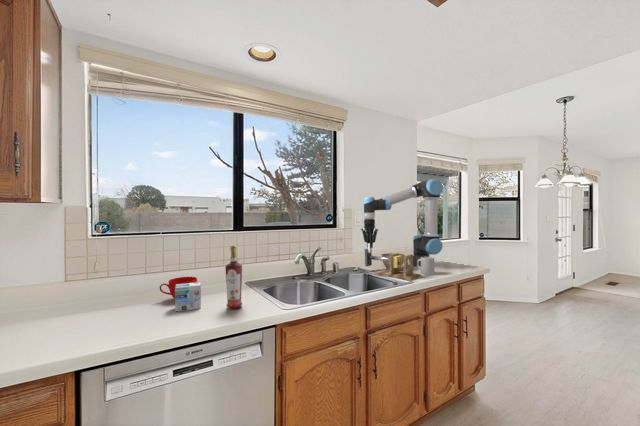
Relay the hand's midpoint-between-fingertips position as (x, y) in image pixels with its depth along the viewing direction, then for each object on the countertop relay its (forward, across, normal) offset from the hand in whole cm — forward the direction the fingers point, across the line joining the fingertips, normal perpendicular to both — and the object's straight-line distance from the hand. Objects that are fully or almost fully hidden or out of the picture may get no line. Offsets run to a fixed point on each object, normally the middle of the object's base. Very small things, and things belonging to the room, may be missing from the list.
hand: (369, 252), depth 209 cm
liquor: (+14, -3, -105) cm, 106 cm away
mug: (+14, +32, +18) cm, 39 cm away
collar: (+8, +21, 0) cm, 22 cm away
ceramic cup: (+14, -35, -117) cm, 123 cm away
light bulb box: (+14, -19, -119) cm, 121 cm away
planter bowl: (+14, +9, +16) cm, 23 cm away
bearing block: (+14, +21, 0) cm, 25 cm away
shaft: (+9, +10, 0) cm, 14 cm away
